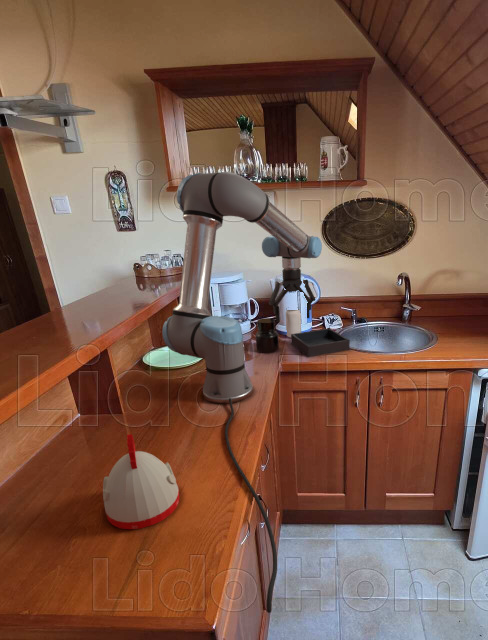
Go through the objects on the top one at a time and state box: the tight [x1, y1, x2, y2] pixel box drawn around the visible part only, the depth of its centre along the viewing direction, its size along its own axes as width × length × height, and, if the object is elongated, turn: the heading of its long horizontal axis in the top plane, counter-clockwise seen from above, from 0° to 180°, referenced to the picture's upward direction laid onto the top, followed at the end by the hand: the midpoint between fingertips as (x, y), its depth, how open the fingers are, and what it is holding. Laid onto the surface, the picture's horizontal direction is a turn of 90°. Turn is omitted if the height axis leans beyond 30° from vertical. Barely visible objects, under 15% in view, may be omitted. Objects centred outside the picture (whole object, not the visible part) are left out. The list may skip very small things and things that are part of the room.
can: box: [285, 308, 302, 339], centre depth 180 cm, size 6×6×12 cm
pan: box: [290, 328, 350, 358], centre depth 168 cm, size 18×18×4 cm
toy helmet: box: [102, 433, 181, 530], centre depth 81 cm, size 14×14×15 cm
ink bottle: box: [255, 317, 280, 354], centre depth 165 cm, size 10×9×12 cm
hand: (292, 319), depth 179 cm, fingers open, 13 cm apart
